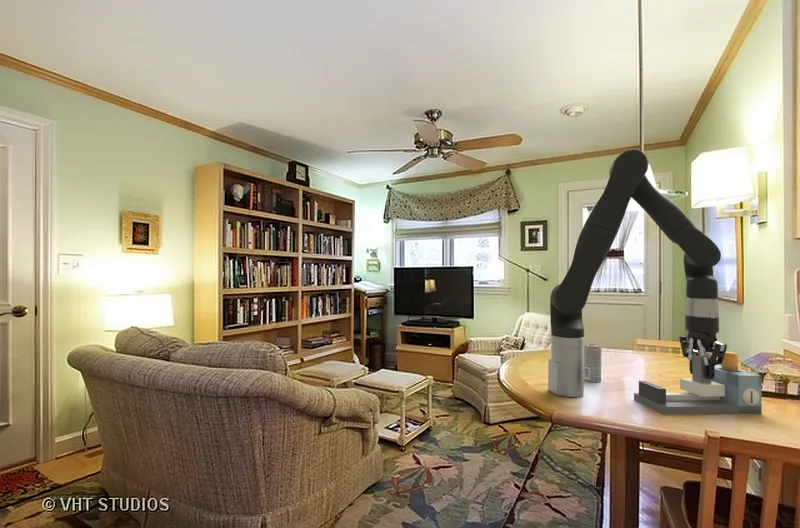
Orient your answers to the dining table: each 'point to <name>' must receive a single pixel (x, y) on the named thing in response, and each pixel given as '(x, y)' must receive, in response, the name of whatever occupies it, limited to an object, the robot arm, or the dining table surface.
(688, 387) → the carriage
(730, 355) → the button
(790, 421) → the dining table surface
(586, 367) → the energy drink
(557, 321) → the robot arm
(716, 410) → the rail track
